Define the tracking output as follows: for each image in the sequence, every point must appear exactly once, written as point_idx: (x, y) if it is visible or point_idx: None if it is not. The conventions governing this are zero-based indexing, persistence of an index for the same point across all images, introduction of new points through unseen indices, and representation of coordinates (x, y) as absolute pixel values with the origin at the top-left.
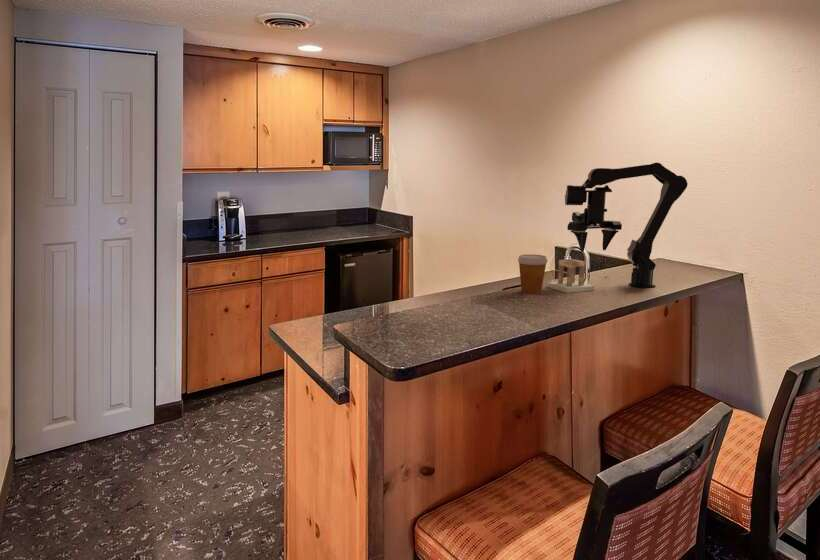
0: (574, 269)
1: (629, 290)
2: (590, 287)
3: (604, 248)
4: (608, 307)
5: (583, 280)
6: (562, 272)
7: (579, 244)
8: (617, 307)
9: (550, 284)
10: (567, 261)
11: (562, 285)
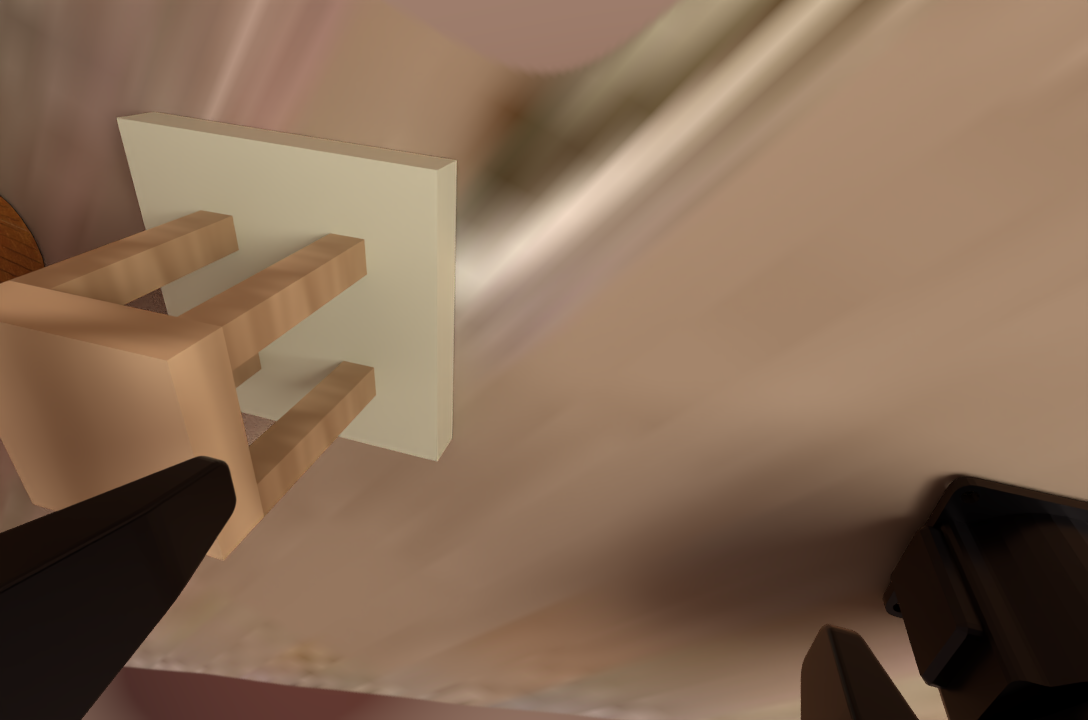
0: (265, 335)
1: (710, 576)
2: (404, 446)
3: (809, 703)
4: (271, 663)
5: (349, 417)
6: (133, 292)
7: (17, 552)
8: (308, 683)
9: (142, 175)
10: (22, 443)
11: None
